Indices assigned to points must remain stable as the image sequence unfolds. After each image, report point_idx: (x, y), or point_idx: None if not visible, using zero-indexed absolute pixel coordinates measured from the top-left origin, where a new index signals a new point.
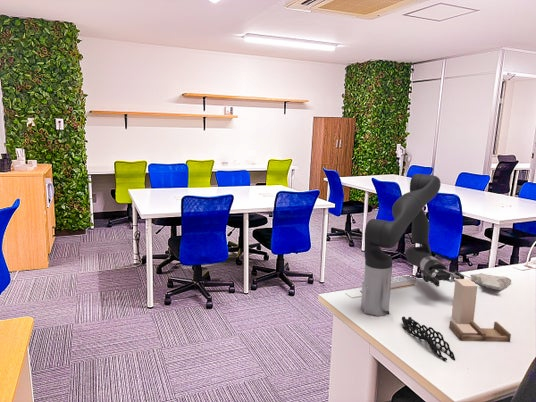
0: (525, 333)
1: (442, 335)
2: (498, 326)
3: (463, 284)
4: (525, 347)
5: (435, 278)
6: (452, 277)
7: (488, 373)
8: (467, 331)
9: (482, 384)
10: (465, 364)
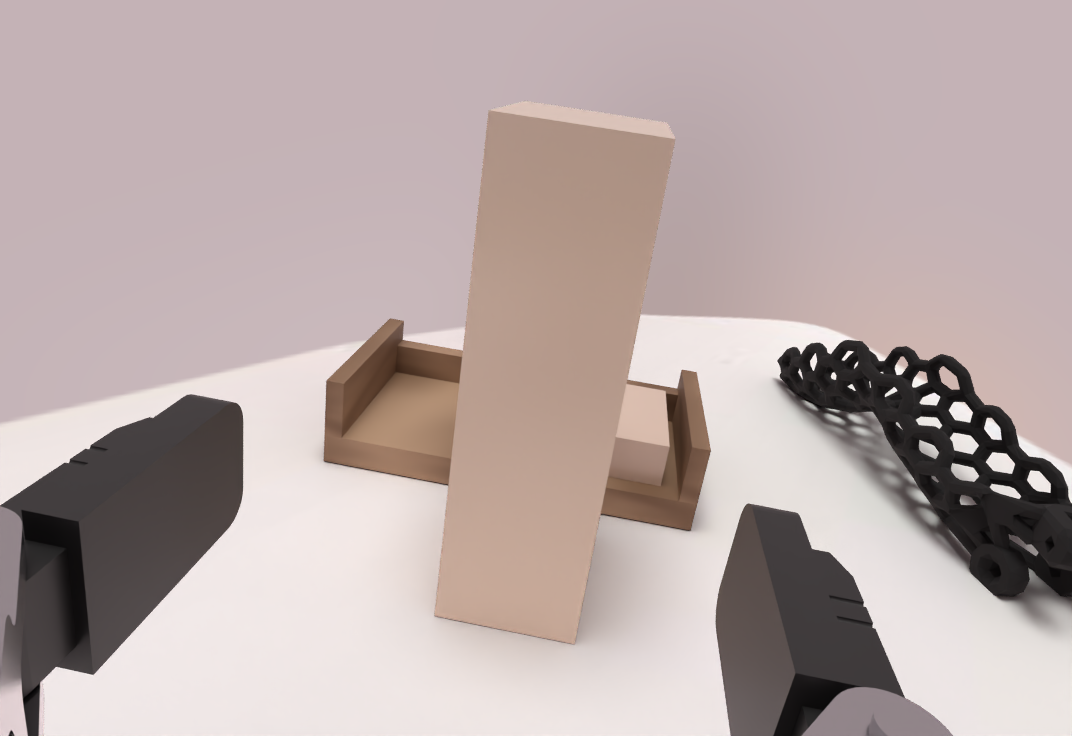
0: (114, 415)
1: (843, 341)
2: (365, 369)
3: (652, 122)
4: (314, 364)
5: (817, 609)
6: (17, 726)
7: (655, 338)
8: (629, 391)
9: (709, 326)
10: (724, 371)
